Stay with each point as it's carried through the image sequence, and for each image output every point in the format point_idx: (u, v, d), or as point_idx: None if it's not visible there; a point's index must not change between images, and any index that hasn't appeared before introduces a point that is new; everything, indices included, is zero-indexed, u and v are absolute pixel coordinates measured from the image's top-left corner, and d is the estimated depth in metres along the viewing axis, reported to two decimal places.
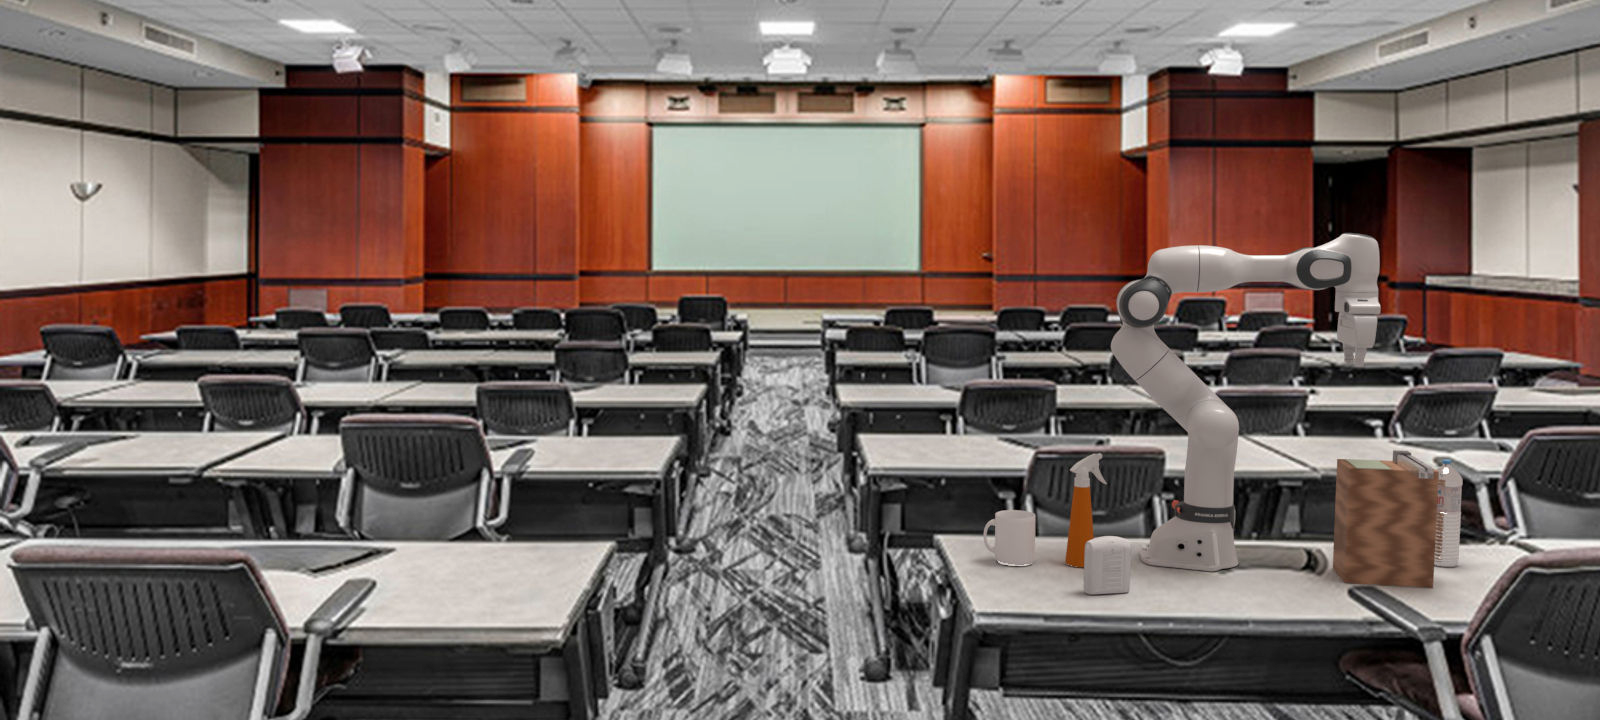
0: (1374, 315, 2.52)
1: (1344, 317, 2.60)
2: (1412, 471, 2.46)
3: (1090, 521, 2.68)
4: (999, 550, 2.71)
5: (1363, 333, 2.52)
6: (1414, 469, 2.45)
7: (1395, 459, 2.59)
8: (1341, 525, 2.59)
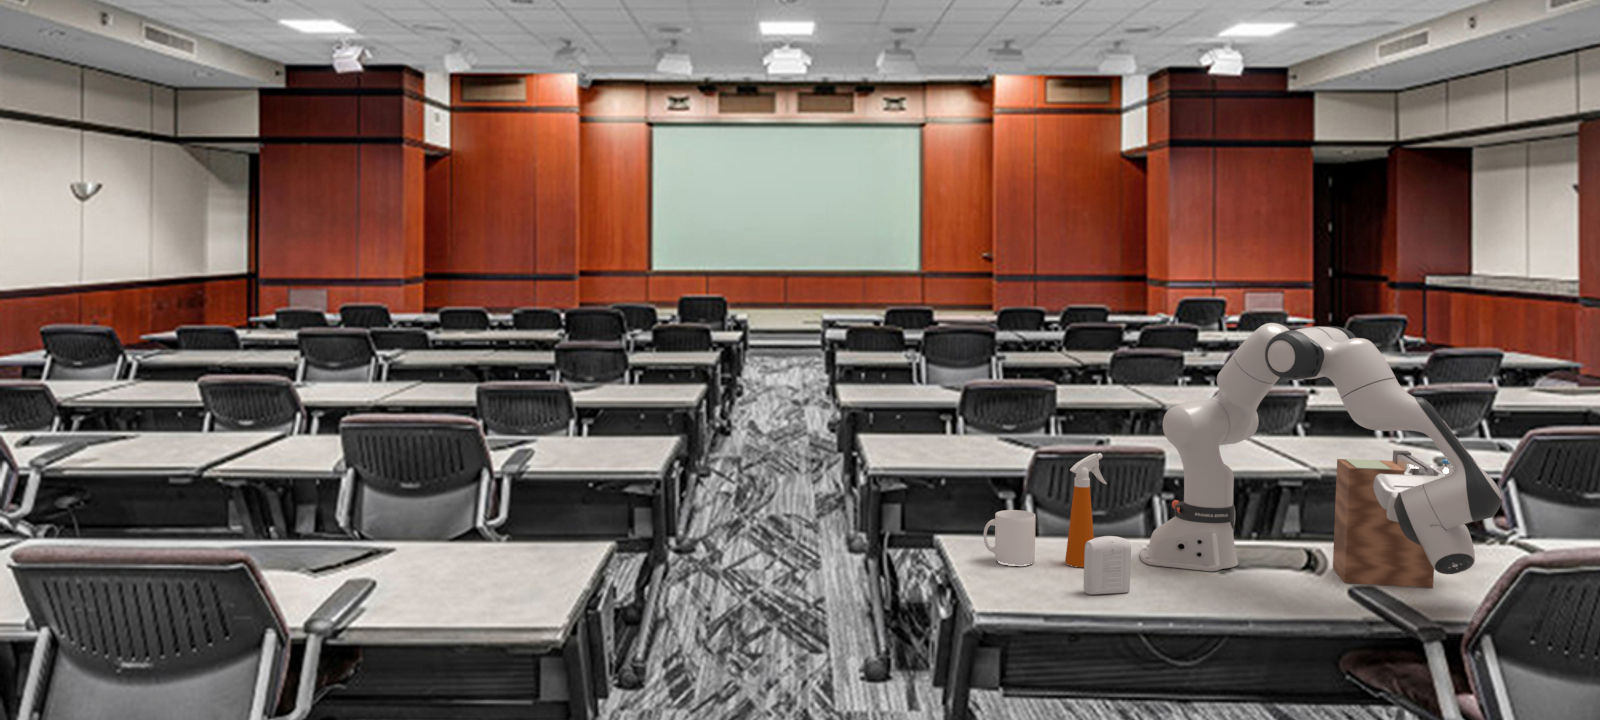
0: None
1: None
2: None
3: (1090, 521, 2.68)
4: (999, 550, 2.71)
5: (1377, 486, 2.41)
6: None
7: (1395, 459, 2.59)
8: (1341, 525, 2.59)
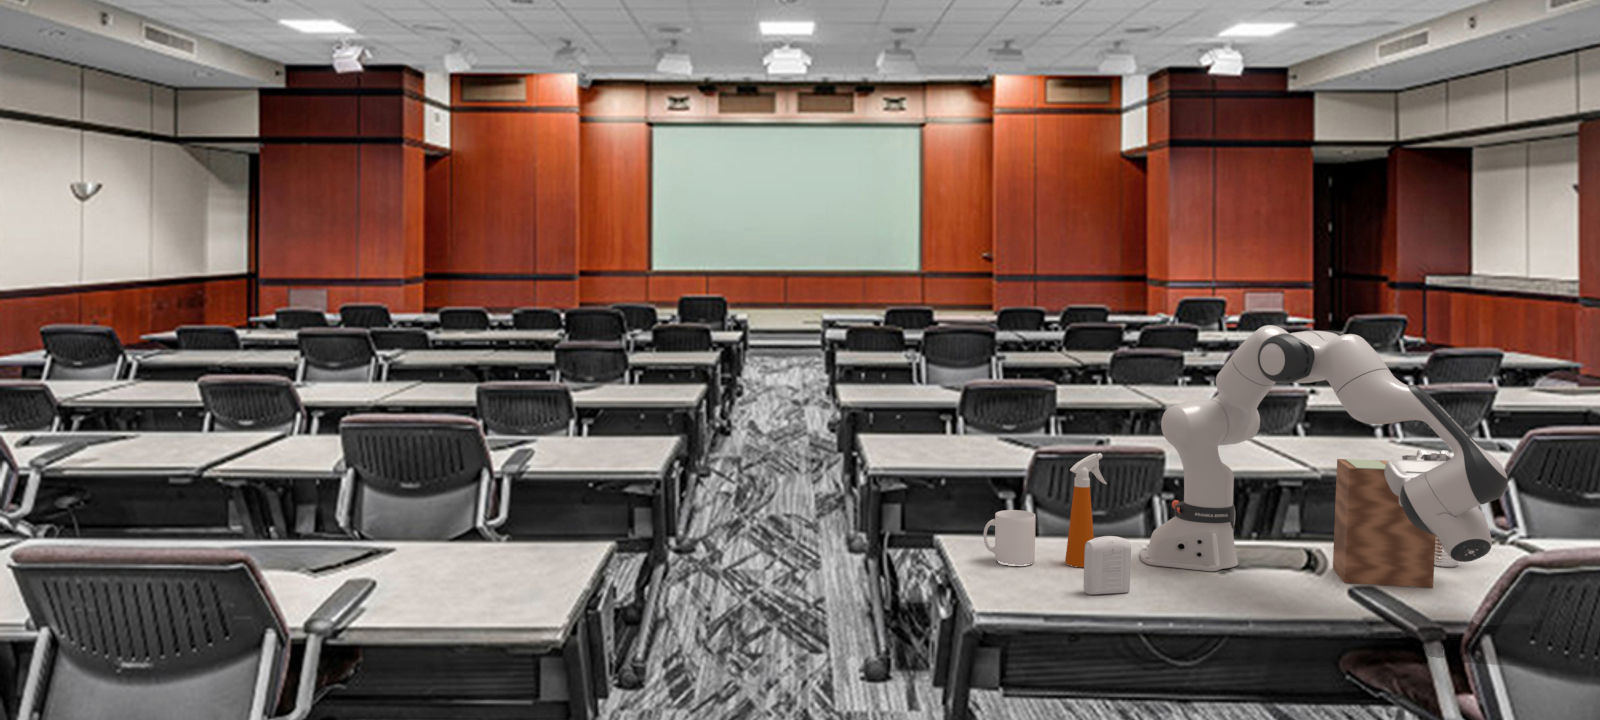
0: (1399, 495, 2.32)
1: None
2: None
3: (1090, 521, 2.68)
4: (999, 550, 2.71)
5: (1388, 473, 2.34)
6: None
7: None
8: (1341, 525, 2.59)
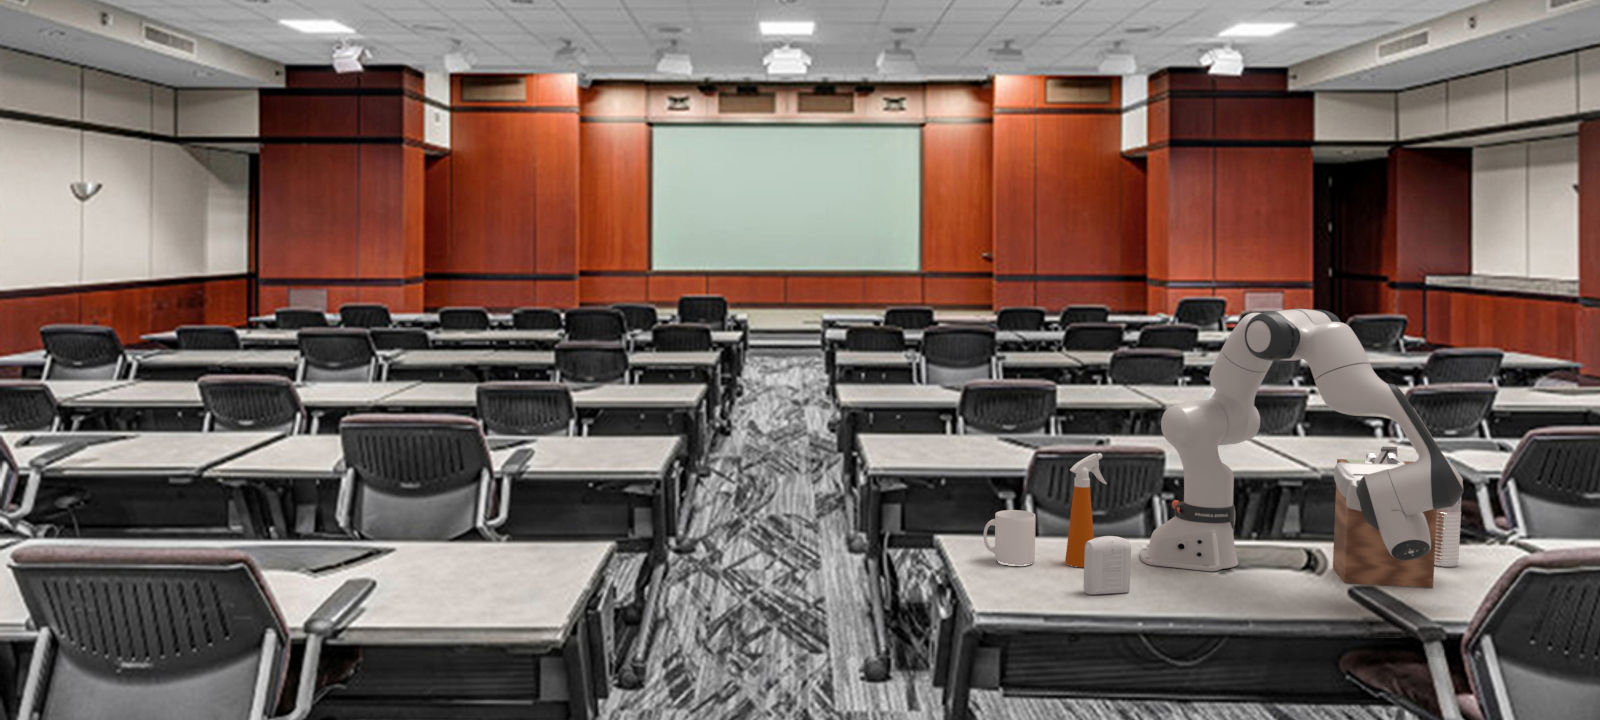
0: None
1: None
2: None
3: (1090, 521, 2.68)
4: (999, 550, 2.71)
5: (1337, 475, 2.43)
6: None
7: None
8: (1341, 525, 2.59)
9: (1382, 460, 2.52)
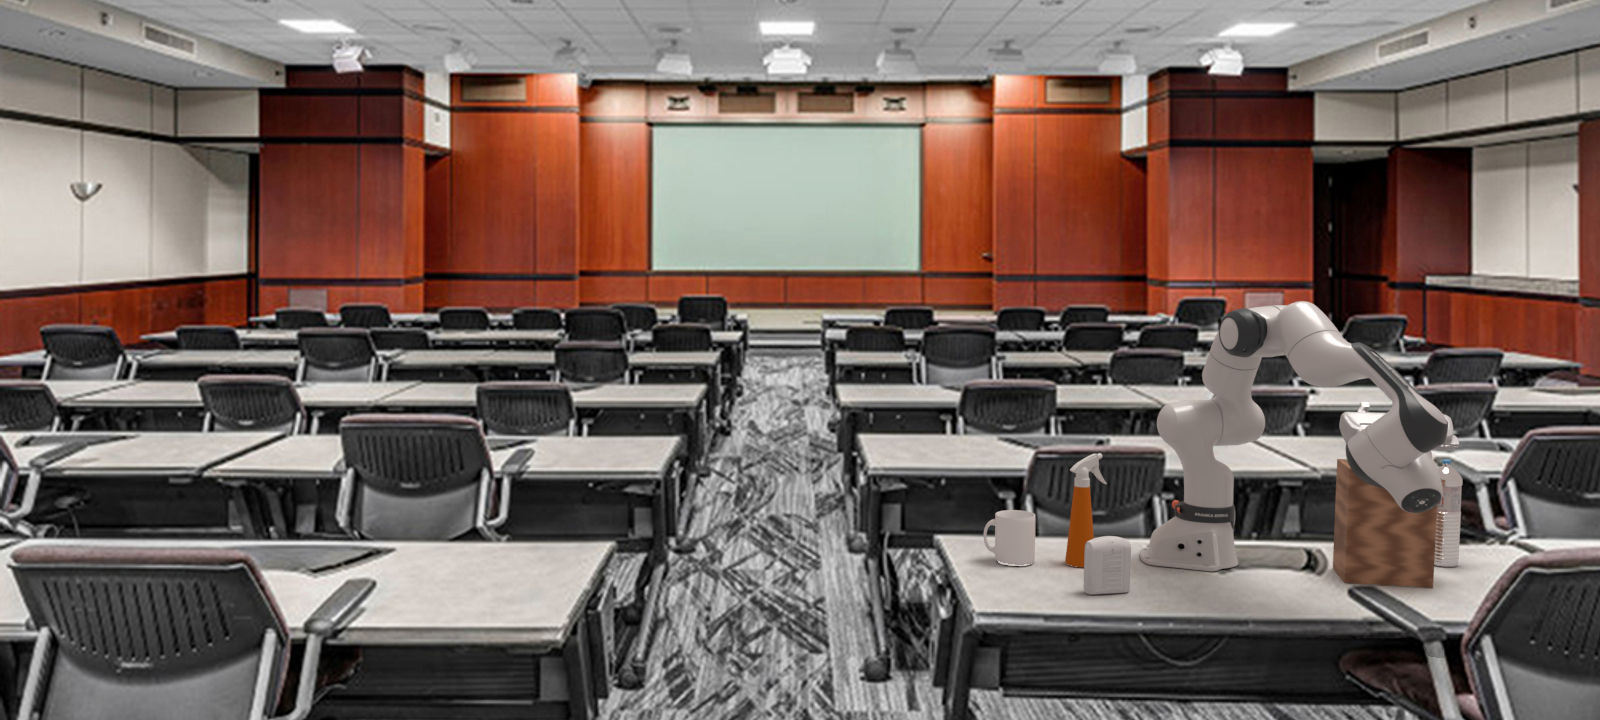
0: None
1: None
2: None
3: (1090, 521, 2.68)
4: (999, 550, 2.71)
5: (1343, 425, 2.30)
6: None
7: None
8: (1341, 525, 2.59)
9: None
